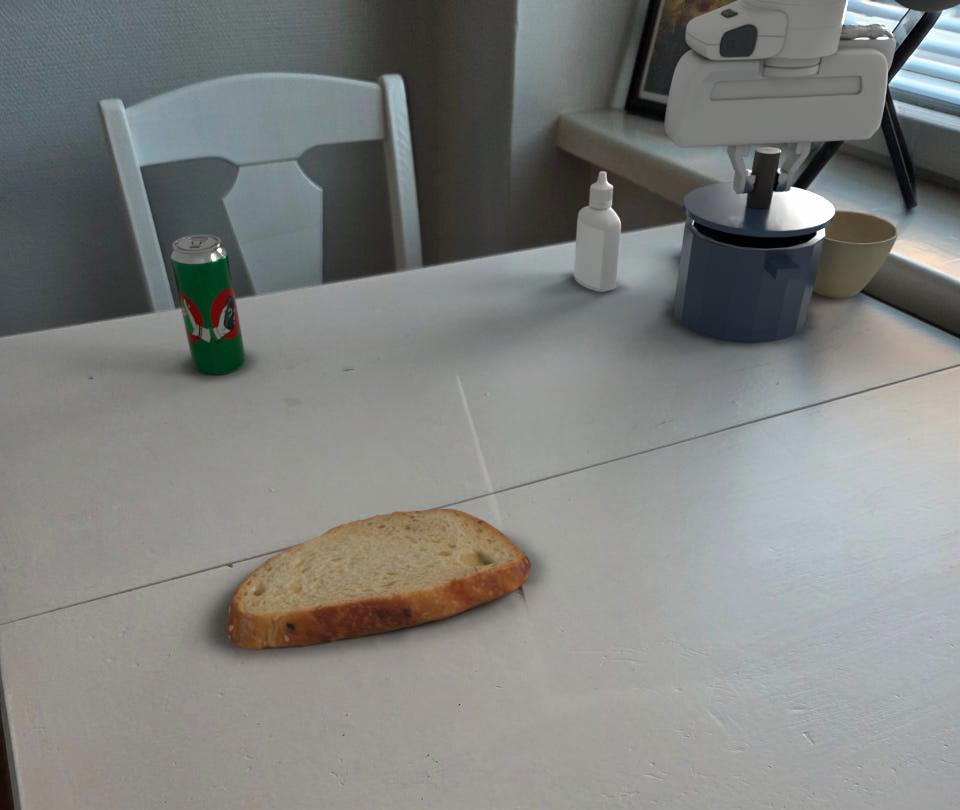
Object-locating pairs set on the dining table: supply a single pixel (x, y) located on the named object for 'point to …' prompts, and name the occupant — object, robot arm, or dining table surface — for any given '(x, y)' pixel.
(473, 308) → the dining table surface
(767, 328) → the pot
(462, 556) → the bread slice
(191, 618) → the dining table surface
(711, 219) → the lid
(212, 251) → the soda can
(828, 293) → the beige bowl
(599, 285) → the eye dropper bottle
